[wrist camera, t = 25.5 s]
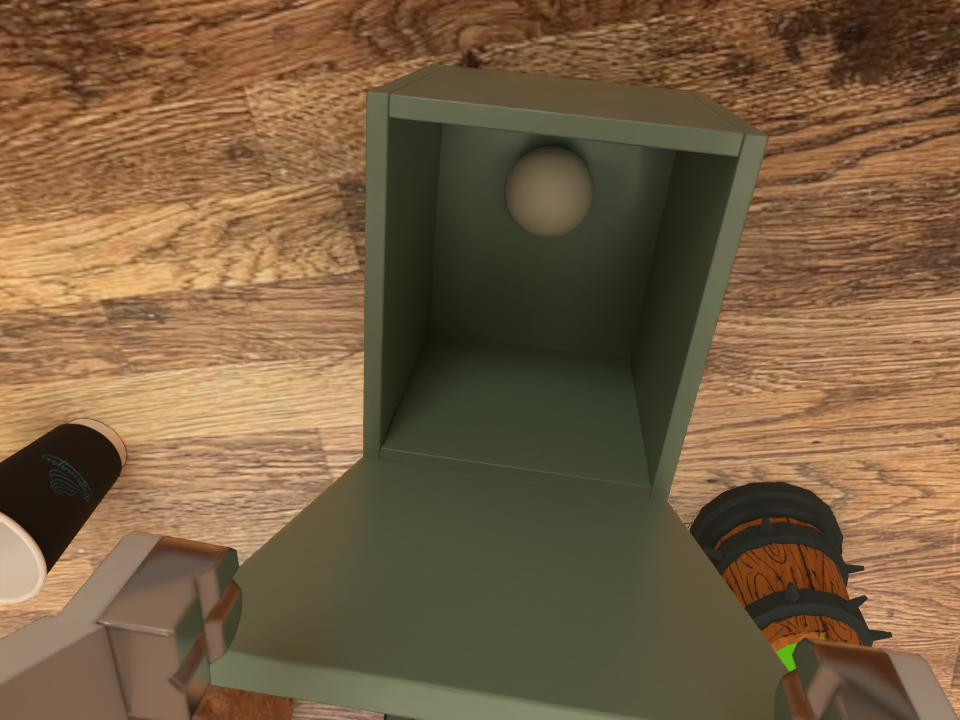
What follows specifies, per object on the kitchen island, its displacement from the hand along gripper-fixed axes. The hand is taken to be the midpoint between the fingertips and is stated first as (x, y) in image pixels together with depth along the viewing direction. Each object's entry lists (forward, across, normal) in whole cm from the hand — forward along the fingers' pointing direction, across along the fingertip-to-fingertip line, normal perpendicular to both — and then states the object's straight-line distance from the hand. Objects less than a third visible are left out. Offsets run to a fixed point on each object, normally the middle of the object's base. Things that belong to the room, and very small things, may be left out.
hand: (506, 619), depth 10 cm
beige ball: (+27, 0, 0) cm, 27 cm away
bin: (+30, 0, +3) cm, 30 cm away
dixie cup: (+30, +30, +23) cm, 48 cm away
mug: (+30, -16, +23) cm, 41 cm away
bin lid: (+9, 0, +7) cm, 12 cm away
